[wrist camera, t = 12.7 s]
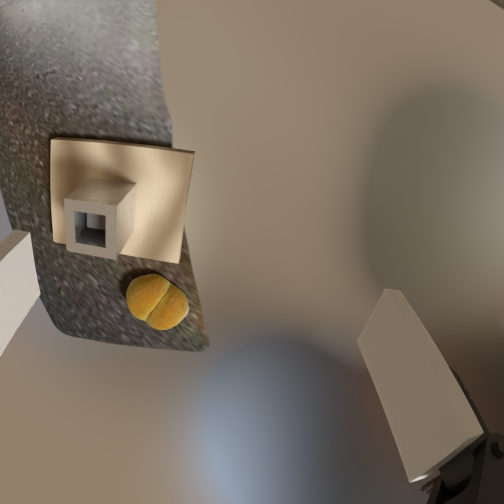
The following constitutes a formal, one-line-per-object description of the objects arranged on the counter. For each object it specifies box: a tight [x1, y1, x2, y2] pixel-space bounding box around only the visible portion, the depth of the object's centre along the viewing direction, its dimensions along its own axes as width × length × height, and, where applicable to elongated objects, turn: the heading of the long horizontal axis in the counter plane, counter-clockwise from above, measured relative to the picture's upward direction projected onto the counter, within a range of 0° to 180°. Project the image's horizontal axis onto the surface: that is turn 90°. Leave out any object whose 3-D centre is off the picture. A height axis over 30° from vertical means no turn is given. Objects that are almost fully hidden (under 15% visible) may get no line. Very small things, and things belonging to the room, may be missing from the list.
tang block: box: [50, 137, 195, 263], centre depth 33 cm, size 18×14×6 cm
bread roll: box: [126, 274, 189, 330], centre depth 42 cm, size 8×9×4 cm
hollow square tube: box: [64, 178, 137, 260], centre depth 31 cm, size 6×6×7 cm
